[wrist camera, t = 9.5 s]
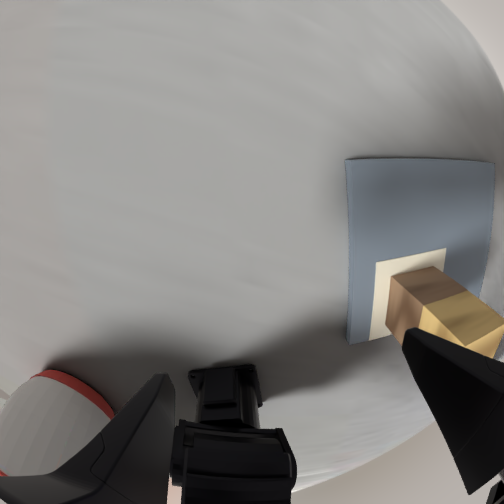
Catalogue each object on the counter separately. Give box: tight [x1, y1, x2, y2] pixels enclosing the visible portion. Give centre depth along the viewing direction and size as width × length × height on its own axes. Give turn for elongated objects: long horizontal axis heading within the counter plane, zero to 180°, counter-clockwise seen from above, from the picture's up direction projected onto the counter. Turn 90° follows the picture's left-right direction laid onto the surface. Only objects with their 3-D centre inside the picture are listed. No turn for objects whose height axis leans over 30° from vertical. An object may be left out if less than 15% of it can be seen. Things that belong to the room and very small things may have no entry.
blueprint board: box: [345, 158, 495, 345], centre depth 21 cm, size 16×18×1 cm
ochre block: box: [419, 290, 504, 359], centre depth 14 cm, size 5×5×5 cm
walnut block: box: [385, 266, 467, 346], centre depth 19 cm, size 5×5×5 cm
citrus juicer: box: [0, 370, 115, 476], centre depth 16 cm, size 16×17×20 cm
